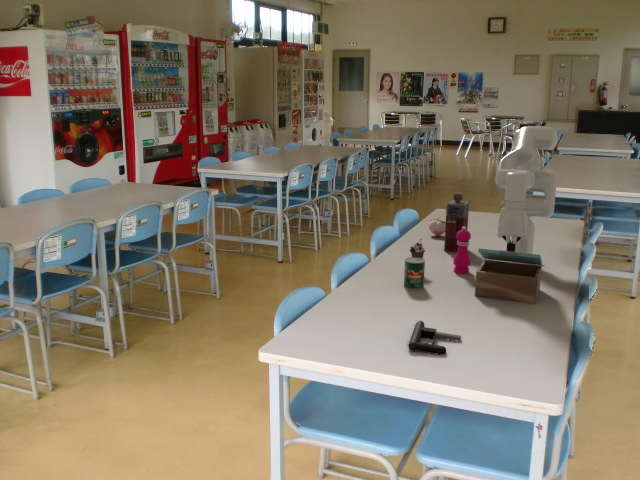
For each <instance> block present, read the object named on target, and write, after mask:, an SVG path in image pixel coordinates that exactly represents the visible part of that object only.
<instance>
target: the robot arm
mask: <svg viewBox="0 0 640 480" xmlns="http://www.w3.org/2000/svg"><path fill="white" fill-rule="evenodd" d="M513 143H514V147H513V150H512V151H511V152H509V153H507V154H506V155H505V156H504V157H503V158H501V160H499V163H498V165H497V170H496V173H495V178H494V179H495V184H496V186H497V187H498V188H500V189H504V200H500V203H499V205H501V206H502V208H501V209H500V213H499V218H498V225H497V235H496V236H497V237H499V238H502V239H503V240H504V241H505V243H506V250H505V251H512V252H517V253H527V254H534V243H535V233H536V226H535V223H534V222H533V220H532V219H531V218H533V217H534V218H543V219H545V218H547V219H548V218H551V217H552V216H553V215H554V212H555V205H556V195H557V194H556V193H557V181H558V180H557V175H556V173H555V171H553V170H548V169H540V167H541V166H540V165H541V164H540V163H541V156H540V155H539V153H538V152H537V150H542V151H543V150H547V151H552V150H554V149H555V148H556V146H557V144H558V133H557V130H556V129H555V128H554V127H551V126H543V125H541V126H539V125H527V126H526V125H525V126H523V127H521V128H520V129H519V128H518V129H517V130H515V131H514V134H513ZM517 167H518V168H517ZM527 192H536V193H537V192H538V193H543V194H544V195H540V194H531V193H530V194H528V193H527ZM539 255H540V254H539ZM540 256H541V257H542V255H540ZM505 262H507V261H505ZM512 263H516V262H512ZM521 264H525V263H521ZM531 265H534V264H531Z"/></svg>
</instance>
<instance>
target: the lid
mask: <svg viewBox="0 0 640 480" xmlns="http://www.w3.org/2000/svg"><path fill="white" fill-rule="evenodd" d="M477 251H478V253H479V254H480V256H481V257H482V258H483V260H484V259H485V260H494V261H503V262H506V261H507V262H516V263H525V264H534V265H540V266H543V261H542V255H541V256H540V254H536V253H535V254H534V253H533V254H527V253H517V252H512V251H506V250H501V249H500V250H497V249H489V248H488V249H486V248H478V249H477Z"/></svg>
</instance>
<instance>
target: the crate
mask: <svg viewBox="0 0 640 480" xmlns="http://www.w3.org/2000/svg"><path fill="white" fill-rule="evenodd" d="M542 269H543V265H531V264H521V263H512V262H506V261H498V260H489V259H484V258H483V261H482V262H481V264H480V266H479V267H478V269H477V270H476V271H475V272H476V275H475V288H474V289H475V290H474V297H480V298H487V299H494V300H501V301H508V302H509V301H510V302H519V303H525V304H534V305H536V302H537V300H538V296H539V293H540V290H541V282H542V281H541V280H542Z"/></svg>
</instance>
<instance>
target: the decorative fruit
mask: <svg viewBox="0 0 640 480" xmlns="http://www.w3.org/2000/svg"><path fill="white" fill-rule="evenodd" d="M428 226H429V227H428V228H429V231H430V232H431V233H432V234H434V235H435V236H437V237H439V236H442V235H445V226H446V220H445V219H440V217H438V219H437V218H432V219H431V220H430V223H429V225H428Z"/></svg>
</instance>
